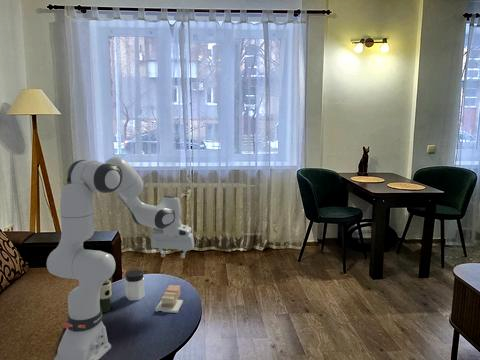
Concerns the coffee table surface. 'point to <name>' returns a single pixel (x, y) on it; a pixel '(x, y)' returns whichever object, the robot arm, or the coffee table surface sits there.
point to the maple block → (169, 299)
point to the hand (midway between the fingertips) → (173, 257)
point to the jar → (134, 285)
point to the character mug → (105, 296)
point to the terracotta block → (174, 289)
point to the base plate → (166, 309)
